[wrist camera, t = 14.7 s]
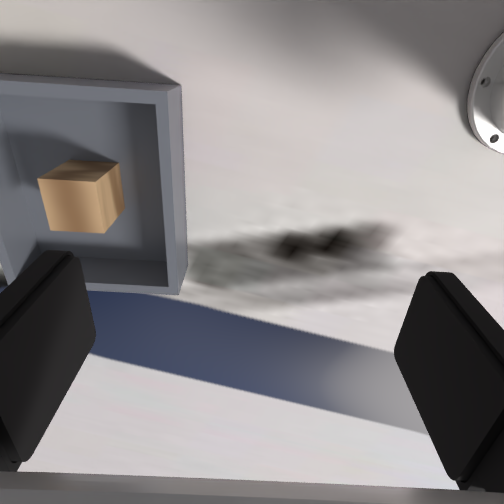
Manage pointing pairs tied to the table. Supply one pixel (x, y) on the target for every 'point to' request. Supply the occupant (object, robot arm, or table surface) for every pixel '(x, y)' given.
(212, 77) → the table surface
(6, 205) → the bin
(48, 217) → the oak block
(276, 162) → the table surface
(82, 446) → the table surface
